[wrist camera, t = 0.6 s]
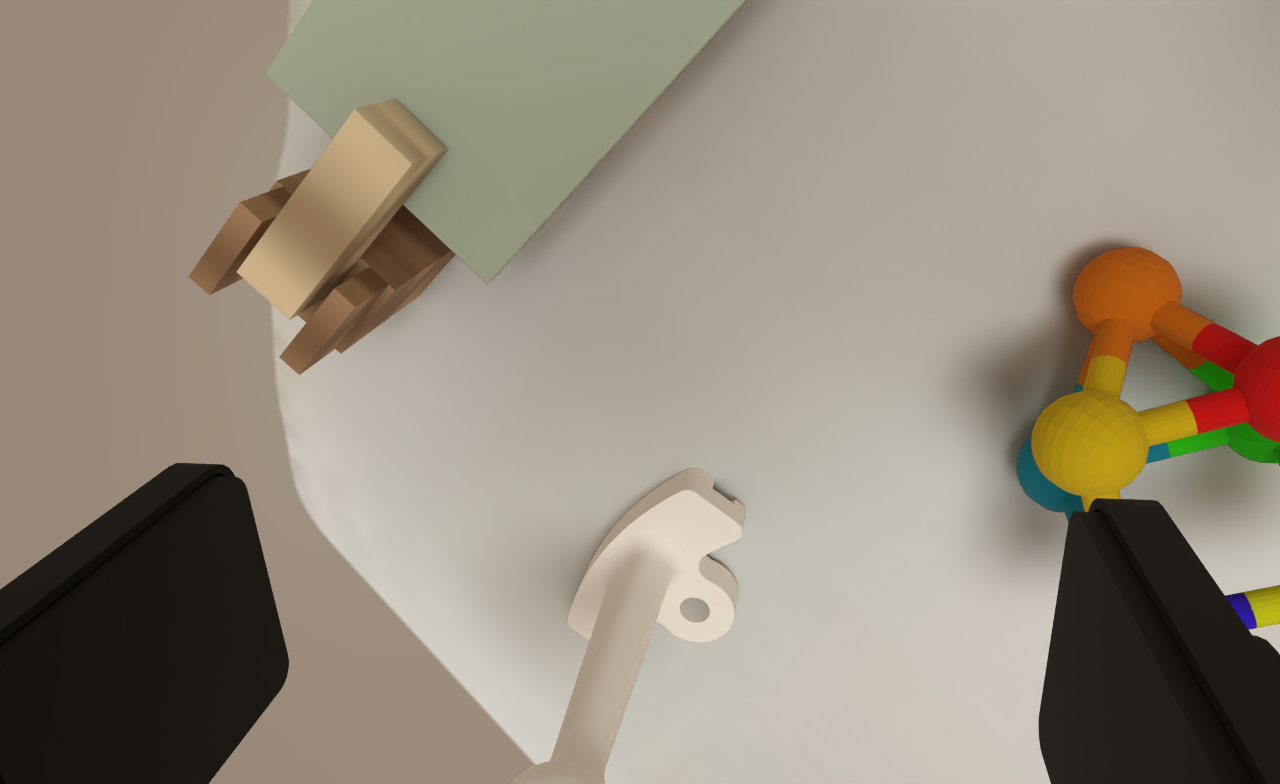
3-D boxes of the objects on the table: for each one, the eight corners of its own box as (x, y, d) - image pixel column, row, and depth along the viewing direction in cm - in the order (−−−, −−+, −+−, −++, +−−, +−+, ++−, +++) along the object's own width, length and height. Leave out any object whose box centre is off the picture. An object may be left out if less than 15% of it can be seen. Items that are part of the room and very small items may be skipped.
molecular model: (1055, 204, 38) (1513, 265, 25) (1164, 358, 44) (1574, 469, 31) (847, 498, 37) (1204, 714, 24) (987, 611, 43) (1329, 830, 31)
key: (394, 98, 33) (354, 108, 30) (447, 149, 33) (411, 164, 30) (281, 250, 36) (236, 272, 33) (330, 294, 36) (289, 319, 34)
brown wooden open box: (694, -382, 32) (631, -536, 22) (887, -160, 33) (906, -216, 24) (292, 178, 43) (140, 233, 34) (449, 323, 45) (344, 415, 35)
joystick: (677, 452, 45) (571, 759, 27) (797, 540, 46) (769, 895, 28) (560, 588, 50) (405, 923, 32) (670, 665, 51) (578, 1035, 33)
